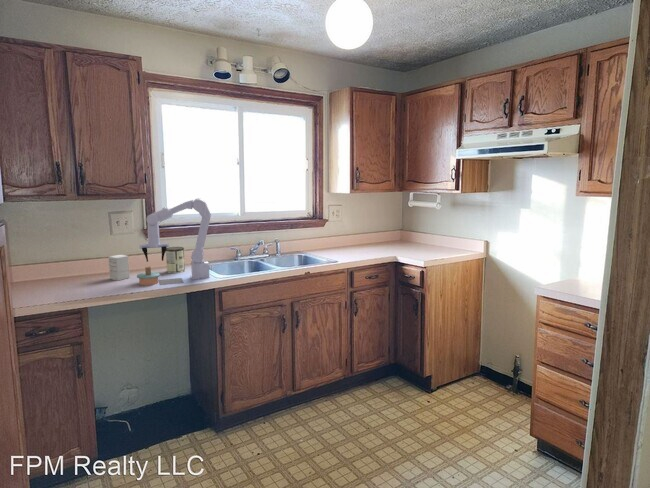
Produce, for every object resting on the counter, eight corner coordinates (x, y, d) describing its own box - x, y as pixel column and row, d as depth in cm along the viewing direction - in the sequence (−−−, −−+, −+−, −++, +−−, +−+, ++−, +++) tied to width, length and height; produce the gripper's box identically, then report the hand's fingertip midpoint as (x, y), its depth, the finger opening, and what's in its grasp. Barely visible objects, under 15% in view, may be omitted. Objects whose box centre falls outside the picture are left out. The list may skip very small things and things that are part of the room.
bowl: (157, 280, 229) (157, 273, 229) (158, 284, 221) (158, 277, 221) (139, 282, 226) (138, 275, 225) (139, 286, 218) (139, 278, 217)
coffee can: (171, 269, 258) (170, 246, 256) (187, 269, 257) (186, 246, 255) (163, 273, 248) (162, 249, 246) (180, 273, 247) (179, 249, 245)
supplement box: (121, 276, 239) (120, 254, 237) (130, 278, 235) (128, 255, 233) (109, 279, 233) (107, 256, 231) (117, 280, 229) (116, 257, 227)
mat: (181, 278, 235) (181, 277, 235) (184, 283, 224) (184, 282, 224) (158, 280, 230) (158, 279, 230) (159, 285, 219) (159, 285, 219)
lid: (158, 273, 230) (158, 264, 229) (160, 277, 220) (159, 268, 219) (136, 274, 226) (136, 266, 225) (137, 279, 216) (136, 270, 215)
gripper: (139, 237, 222) (140, 263, 224) (168, 236, 228) (169, 261, 230) (138, 236, 228) (140, 260, 230) (167, 234, 234) (168, 258, 236)
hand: (155, 260), depth 231 cm, fingers open, 7 cm apart
